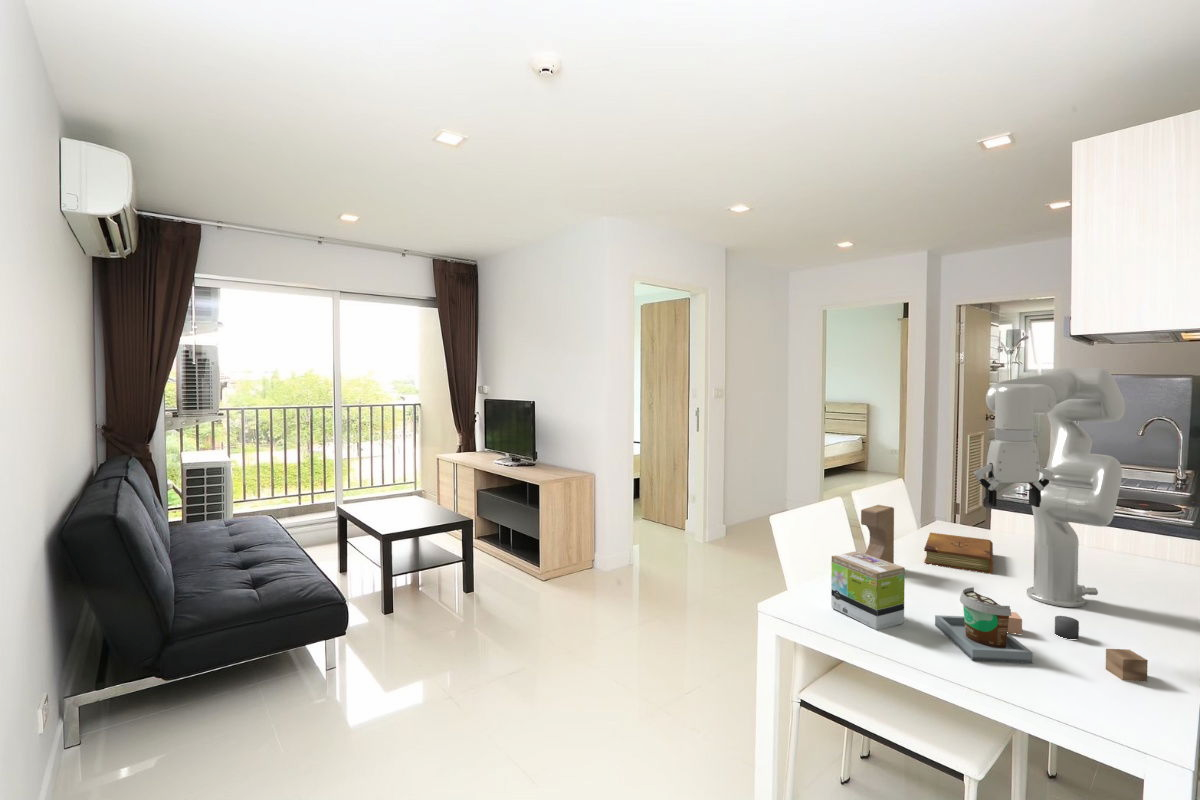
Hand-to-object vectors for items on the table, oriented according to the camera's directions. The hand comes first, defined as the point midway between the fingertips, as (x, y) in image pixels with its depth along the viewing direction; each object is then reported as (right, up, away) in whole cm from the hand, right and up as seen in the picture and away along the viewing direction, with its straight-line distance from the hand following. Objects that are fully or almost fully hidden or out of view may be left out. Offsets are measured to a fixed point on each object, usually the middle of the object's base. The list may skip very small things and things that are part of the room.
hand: (1012, 505), depth 139 cm
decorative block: (-12, -29, +43) cm, 53 cm away
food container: (-13, -30, -7) cm, 34 cm away
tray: (-13, -31, -7) cm, 34 cm away
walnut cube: (+7, -31, -22) cm, 39 cm away
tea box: (-32, -31, +9) cm, 45 cm away
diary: (+20, -29, +53) cm, 64 cm away
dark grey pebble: (+10, -30, -4) cm, 32 cm away
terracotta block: (-2, -30, -1) cm, 30 cm away
